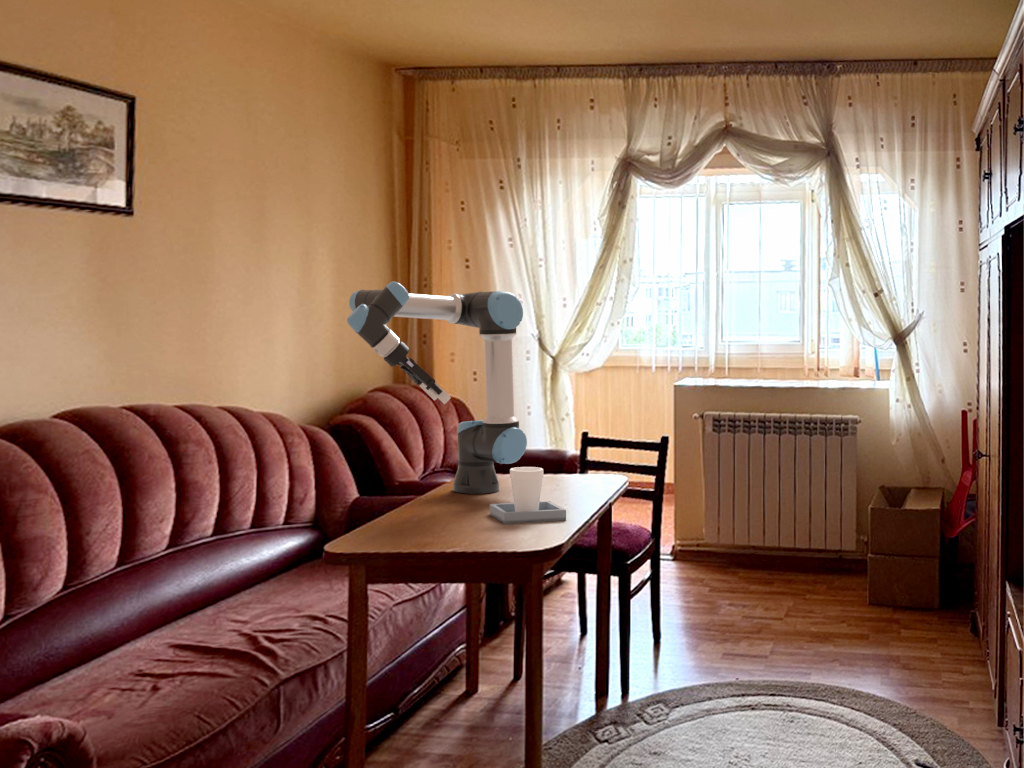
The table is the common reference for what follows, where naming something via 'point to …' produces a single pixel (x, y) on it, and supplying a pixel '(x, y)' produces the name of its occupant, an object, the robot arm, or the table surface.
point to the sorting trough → (527, 513)
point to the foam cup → (526, 487)
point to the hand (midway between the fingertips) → (442, 399)
